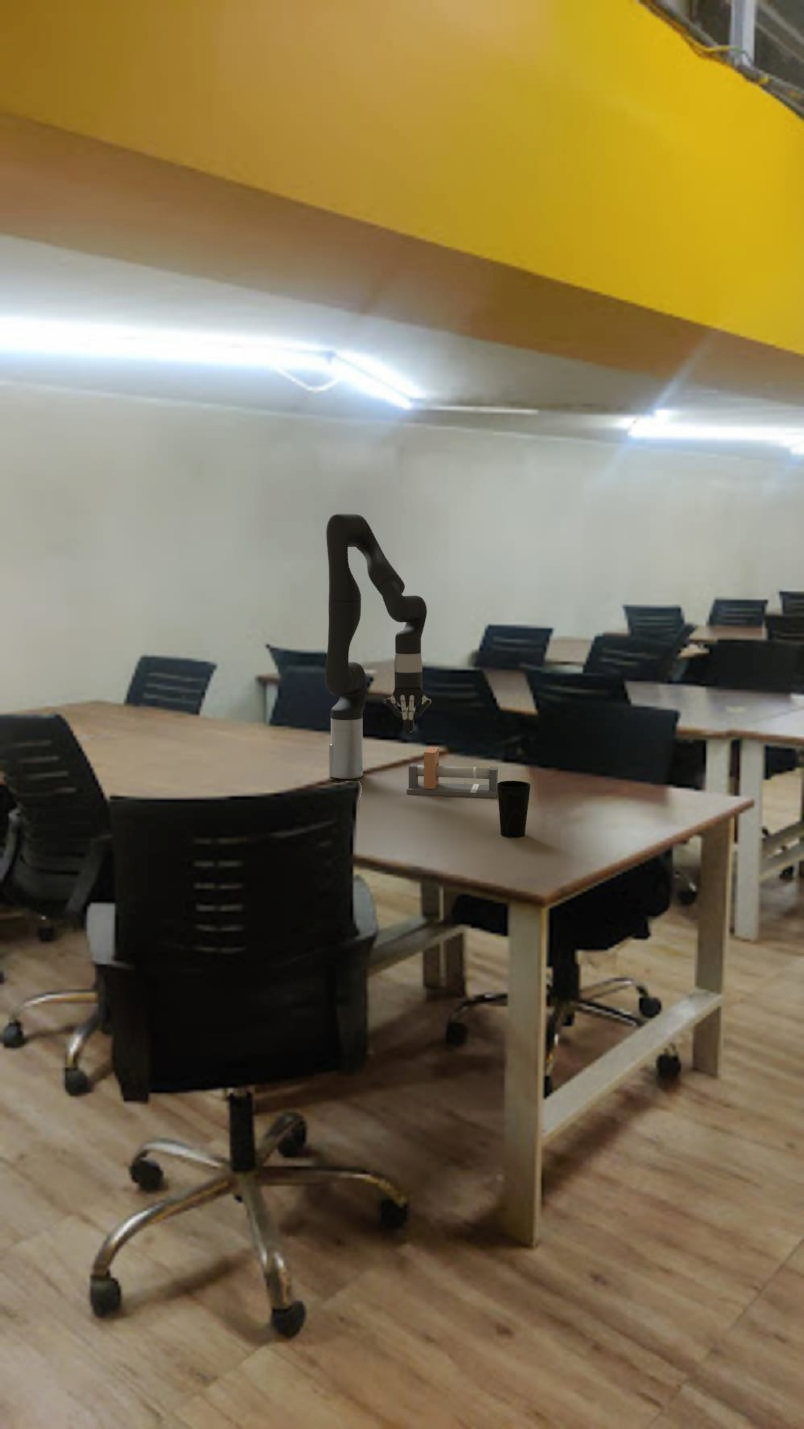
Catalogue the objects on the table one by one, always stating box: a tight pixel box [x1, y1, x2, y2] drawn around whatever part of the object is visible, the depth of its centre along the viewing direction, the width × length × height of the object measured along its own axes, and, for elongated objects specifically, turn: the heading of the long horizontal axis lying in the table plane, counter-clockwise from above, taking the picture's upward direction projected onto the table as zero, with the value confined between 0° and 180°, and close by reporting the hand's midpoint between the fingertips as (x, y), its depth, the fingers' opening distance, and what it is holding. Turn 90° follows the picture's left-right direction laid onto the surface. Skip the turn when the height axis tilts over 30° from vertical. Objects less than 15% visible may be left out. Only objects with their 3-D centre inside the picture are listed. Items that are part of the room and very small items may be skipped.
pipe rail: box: [406, 763, 499, 799], centre depth 280 cm, size 24×10×7 cm, turn 80°
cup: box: [497, 780, 531, 839], centre depth 238 cm, size 8×8×12 cm
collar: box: [423, 746, 440, 789], centre depth 281 cm, size 3×8×10 cm, turn 170°
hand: (408, 732), depth 280 cm, fingers closed
